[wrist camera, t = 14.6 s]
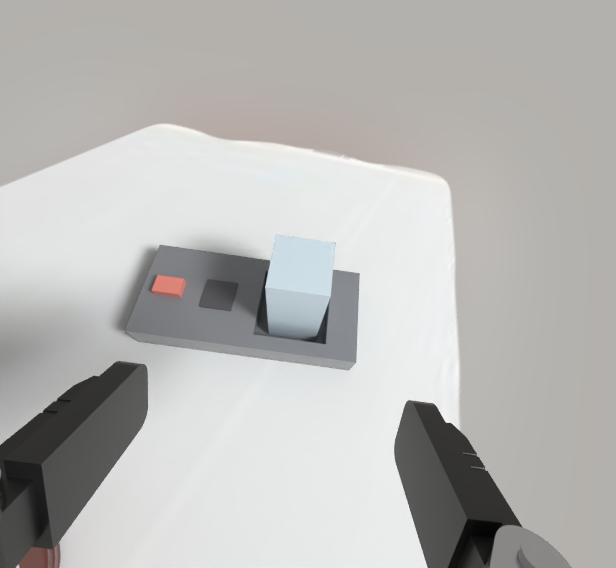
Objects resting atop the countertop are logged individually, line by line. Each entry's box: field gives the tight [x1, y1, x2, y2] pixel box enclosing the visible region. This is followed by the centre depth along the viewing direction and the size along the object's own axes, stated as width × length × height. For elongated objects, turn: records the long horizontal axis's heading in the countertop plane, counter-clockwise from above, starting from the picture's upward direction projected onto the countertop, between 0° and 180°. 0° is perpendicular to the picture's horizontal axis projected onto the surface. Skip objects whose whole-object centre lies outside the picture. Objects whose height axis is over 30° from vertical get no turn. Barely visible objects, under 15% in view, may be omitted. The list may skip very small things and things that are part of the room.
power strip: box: [124, 245, 359, 370], centre depth 29 cm, size 20×9×4 cm, turn 83°
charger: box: [265, 234, 335, 341], centre depth 26 cm, size 4×5×10 cm
